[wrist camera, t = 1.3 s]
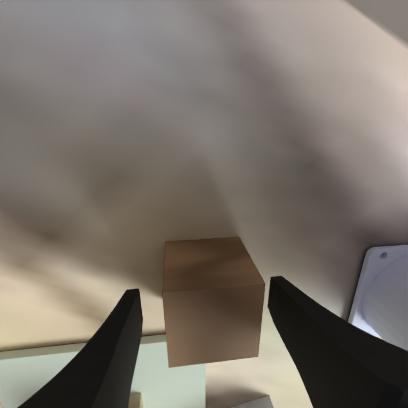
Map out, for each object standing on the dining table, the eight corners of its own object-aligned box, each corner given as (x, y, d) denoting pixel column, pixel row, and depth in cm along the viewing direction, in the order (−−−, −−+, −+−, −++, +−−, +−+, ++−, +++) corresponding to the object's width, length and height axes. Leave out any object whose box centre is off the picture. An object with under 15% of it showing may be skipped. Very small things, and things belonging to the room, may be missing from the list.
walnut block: (238, 236, 14) (265, 283, 10) (235, 294, 16) (258, 356, 12) (165, 240, 14) (162, 292, 10) (169, 300, 16) (168, 368, 11)
